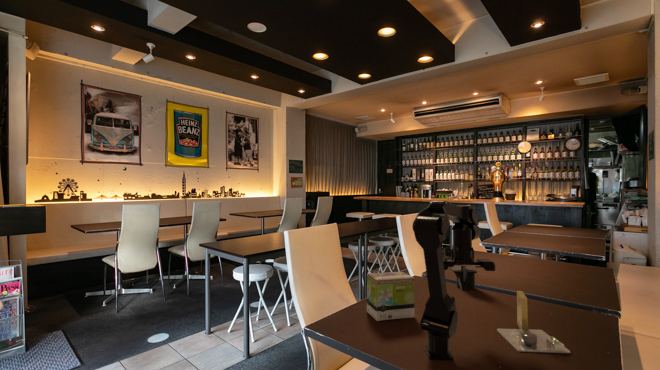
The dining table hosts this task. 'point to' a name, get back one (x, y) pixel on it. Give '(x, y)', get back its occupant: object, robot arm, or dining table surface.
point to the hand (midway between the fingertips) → (463, 290)
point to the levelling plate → (543, 345)
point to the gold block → (524, 320)
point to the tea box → (390, 295)
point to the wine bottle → (472, 281)
